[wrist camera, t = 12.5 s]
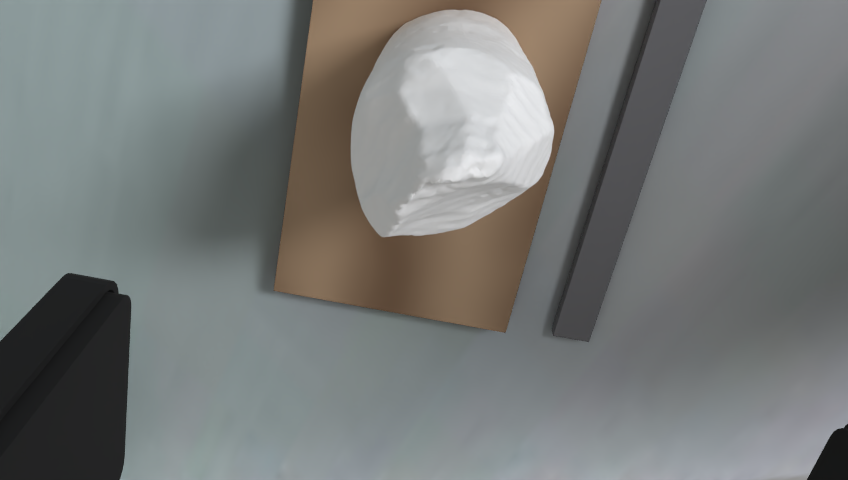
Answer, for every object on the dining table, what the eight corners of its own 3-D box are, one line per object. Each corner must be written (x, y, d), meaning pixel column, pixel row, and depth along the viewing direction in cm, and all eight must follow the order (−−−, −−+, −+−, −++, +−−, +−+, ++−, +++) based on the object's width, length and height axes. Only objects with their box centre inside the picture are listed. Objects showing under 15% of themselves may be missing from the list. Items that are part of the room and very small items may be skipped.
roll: (430, 356, 19) (272, 197, 18) (433, 184, 30) (335, 75, 28) (630, 215, 18) (477, 23, 16) (557, 87, 29) (461, -35, 27)
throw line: (756, -162, 26) (762, -163, 25) (586, 335, 34) (588, 341, 34) (711, -172, 26) (716, -173, 25) (551, 329, 34) (553, 335, 34)
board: (648, -187, 26) (656, -190, 25) (503, 320, 34) (505, 332, 33) (351, -257, 25) (348, -262, 24) (278, 279, 33) (273, 290, 32)
